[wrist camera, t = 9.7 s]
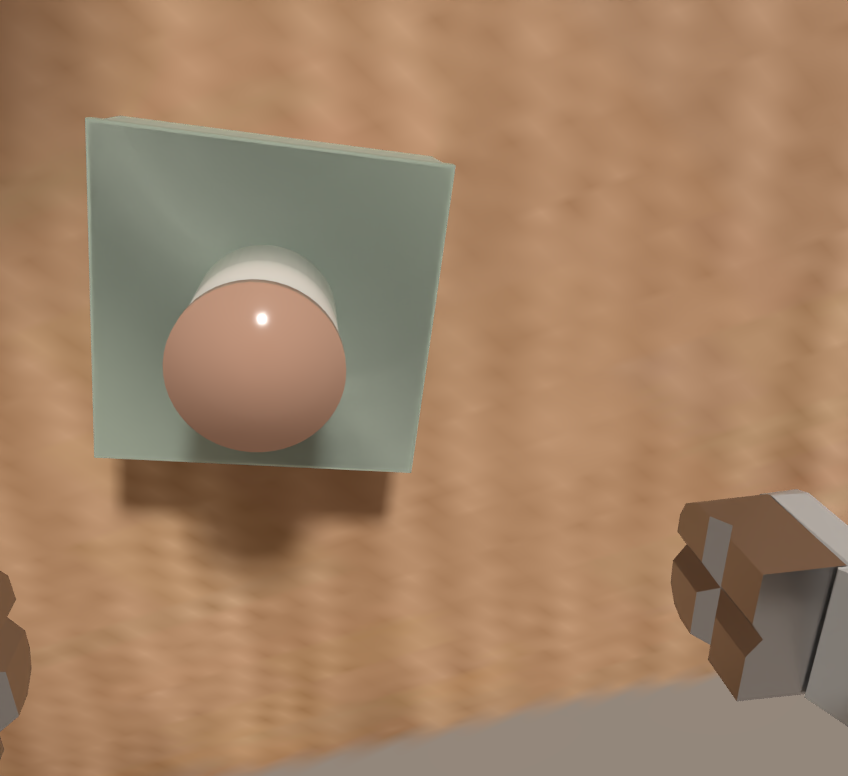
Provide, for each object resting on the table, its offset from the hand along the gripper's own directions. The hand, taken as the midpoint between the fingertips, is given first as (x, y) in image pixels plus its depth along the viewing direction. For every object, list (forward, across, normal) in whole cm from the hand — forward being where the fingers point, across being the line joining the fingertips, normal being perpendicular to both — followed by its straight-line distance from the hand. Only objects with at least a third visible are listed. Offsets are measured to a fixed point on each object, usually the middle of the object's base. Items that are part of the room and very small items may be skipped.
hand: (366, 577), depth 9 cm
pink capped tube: (+19, +2, +2) cm, 19 cm away
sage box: (+24, +2, +3) cm, 24 cm away
